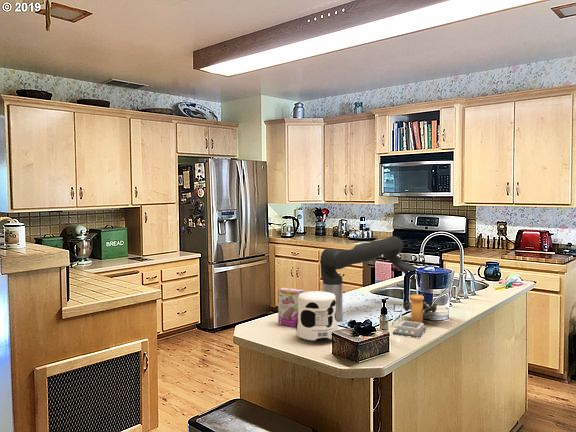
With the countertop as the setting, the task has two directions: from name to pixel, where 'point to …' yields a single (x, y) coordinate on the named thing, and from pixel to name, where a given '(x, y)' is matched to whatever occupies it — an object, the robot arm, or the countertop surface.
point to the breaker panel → (410, 329)
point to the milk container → (316, 316)
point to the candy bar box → (288, 306)
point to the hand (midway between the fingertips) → (415, 310)
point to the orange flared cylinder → (417, 308)
